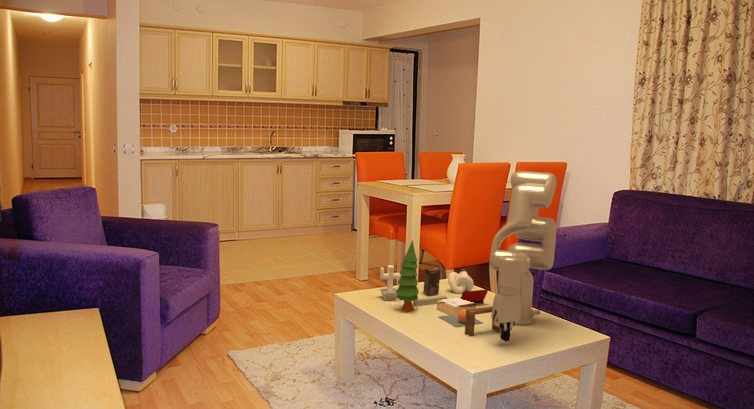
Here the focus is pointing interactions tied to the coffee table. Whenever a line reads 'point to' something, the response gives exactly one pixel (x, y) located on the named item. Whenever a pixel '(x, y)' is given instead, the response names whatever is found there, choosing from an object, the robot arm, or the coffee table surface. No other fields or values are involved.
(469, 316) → the bridge
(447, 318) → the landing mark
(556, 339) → the coffee table surface
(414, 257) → the decorative tree
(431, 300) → the wall
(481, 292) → the handheld game console
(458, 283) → the decorative knot
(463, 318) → the ball
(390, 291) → the figurine
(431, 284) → the box
